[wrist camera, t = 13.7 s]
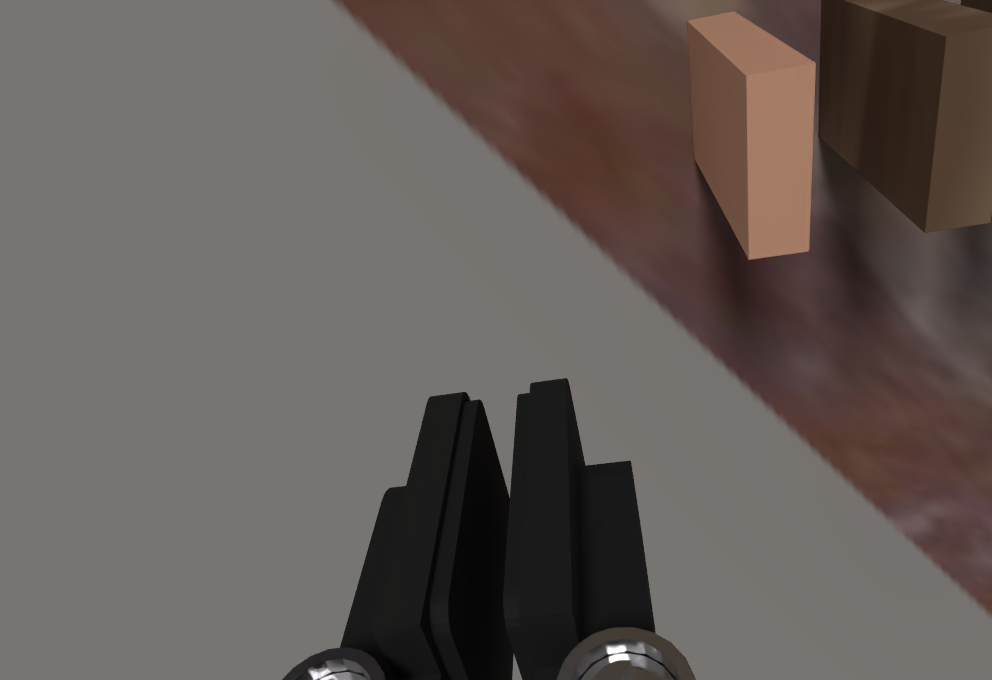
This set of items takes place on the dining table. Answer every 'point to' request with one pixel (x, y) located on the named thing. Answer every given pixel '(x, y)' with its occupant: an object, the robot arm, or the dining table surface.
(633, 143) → the dining table surface
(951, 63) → the domino
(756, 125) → the domino
